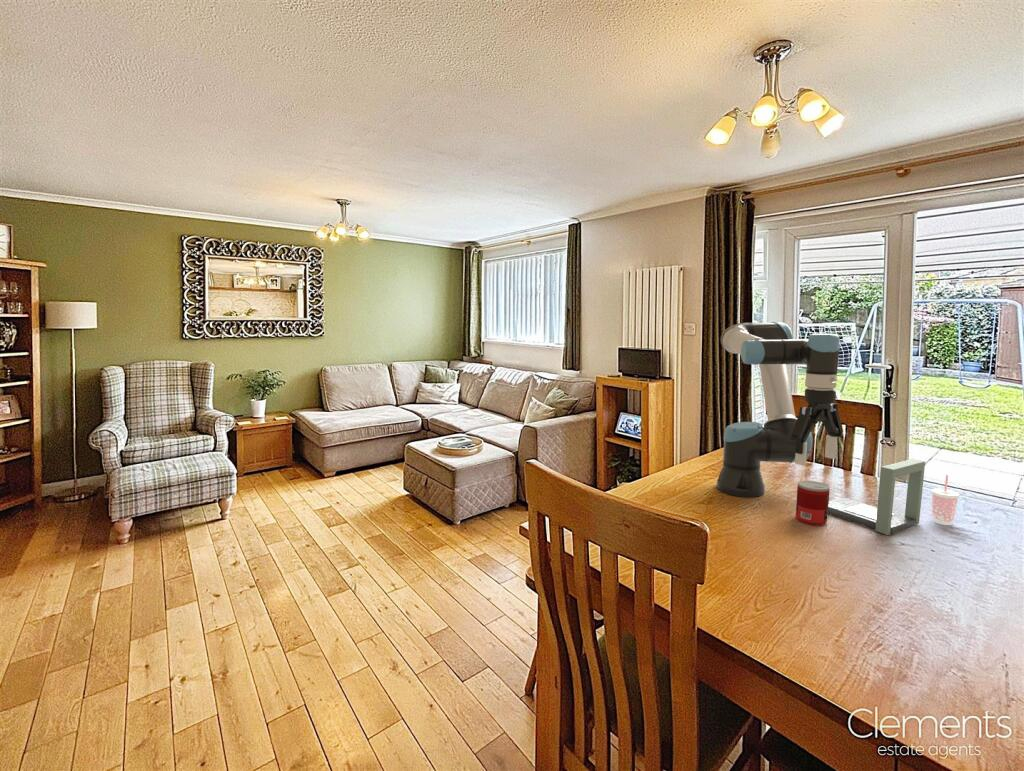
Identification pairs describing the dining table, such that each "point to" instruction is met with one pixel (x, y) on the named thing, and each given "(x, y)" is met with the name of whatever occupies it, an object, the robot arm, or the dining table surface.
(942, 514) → the beverage cup
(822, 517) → the canned food
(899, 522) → the plate
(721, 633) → the dining table surface
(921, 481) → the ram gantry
